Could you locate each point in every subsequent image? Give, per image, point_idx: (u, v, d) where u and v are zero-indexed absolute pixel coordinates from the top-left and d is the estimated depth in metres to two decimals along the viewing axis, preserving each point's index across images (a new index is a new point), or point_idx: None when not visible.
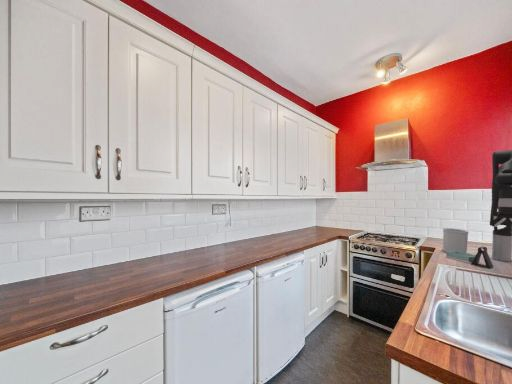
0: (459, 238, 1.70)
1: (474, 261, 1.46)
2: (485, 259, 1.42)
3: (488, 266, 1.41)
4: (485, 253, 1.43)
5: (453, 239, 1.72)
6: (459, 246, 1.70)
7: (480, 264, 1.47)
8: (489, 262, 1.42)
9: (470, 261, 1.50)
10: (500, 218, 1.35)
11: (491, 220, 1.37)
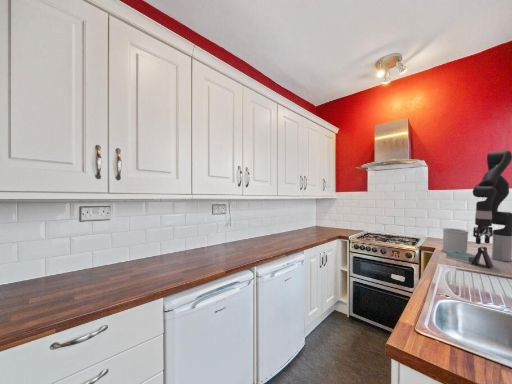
0: (459, 238, 1.70)
1: (474, 261, 1.46)
2: (485, 259, 1.42)
3: (488, 266, 1.41)
4: (485, 253, 1.43)
5: (453, 239, 1.72)
6: (459, 246, 1.70)
7: (480, 264, 1.47)
8: (489, 262, 1.42)
9: (470, 261, 1.50)
10: (482, 229, 1.43)
11: (478, 232, 1.42)
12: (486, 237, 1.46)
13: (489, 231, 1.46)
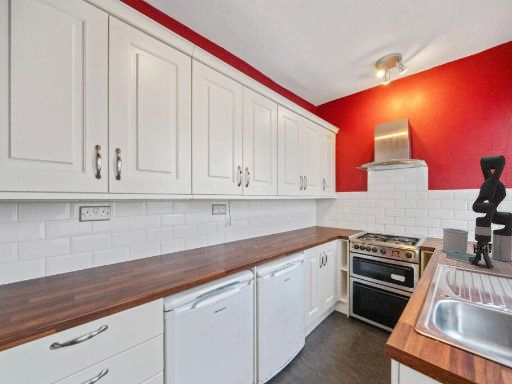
0: (459, 238, 1.70)
1: (474, 261, 1.46)
2: (485, 259, 1.42)
3: (488, 266, 1.41)
4: (485, 253, 1.43)
5: (453, 239, 1.72)
6: (459, 246, 1.70)
7: (480, 264, 1.47)
8: (489, 262, 1.42)
9: (470, 261, 1.50)
10: (481, 246, 1.43)
11: (478, 249, 1.42)
12: None
13: None
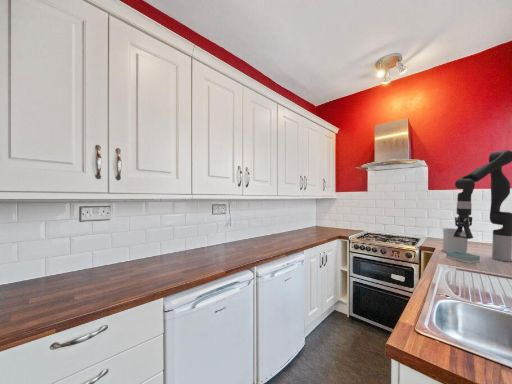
0: (459, 238, 1.70)
1: (456, 233, 1.59)
2: (465, 230, 1.54)
3: (468, 237, 1.53)
4: (466, 225, 1.56)
5: (453, 239, 1.72)
6: (459, 246, 1.70)
7: (461, 236, 1.59)
8: (469, 233, 1.55)
9: (470, 261, 1.50)
10: (462, 219, 1.56)
11: (459, 221, 1.55)
12: None
13: (469, 220, 1.59)
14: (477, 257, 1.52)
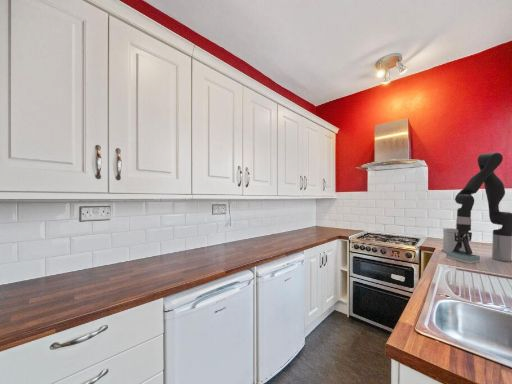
0: None
1: (455, 248, 1.59)
2: (465, 246, 1.54)
3: (468, 252, 1.53)
4: (465, 241, 1.56)
5: (453, 239, 1.72)
6: None
7: (461, 251, 1.59)
8: (469, 249, 1.55)
9: (470, 261, 1.50)
10: (462, 234, 1.56)
11: (459, 237, 1.55)
12: None
13: None
14: (477, 257, 1.52)
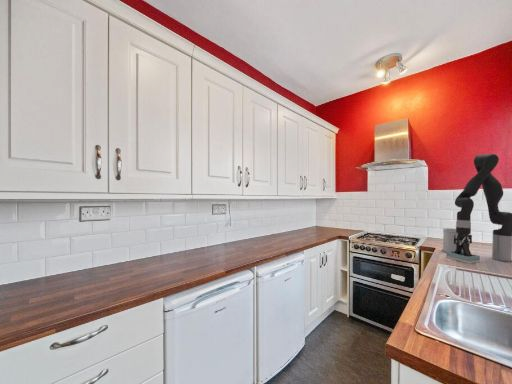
0: None
1: (455, 253, 1.59)
2: (464, 251, 1.55)
3: None
4: (465, 246, 1.56)
5: (453, 239, 1.72)
6: None
7: None
8: (468, 254, 1.55)
9: (470, 261, 1.50)
10: (462, 237, 1.56)
11: (458, 240, 1.55)
12: None
13: (469, 238, 1.59)
14: (477, 257, 1.52)
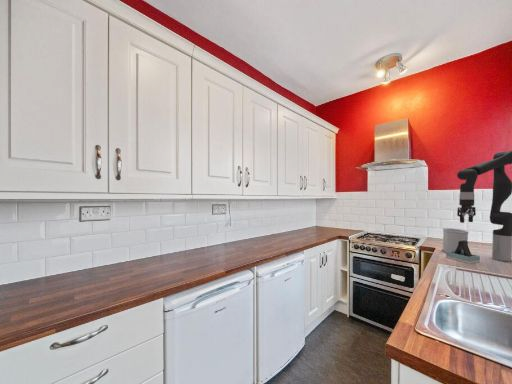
0: (459, 238, 1.70)
1: (455, 253, 1.59)
2: (464, 251, 1.55)
3: None
4: (465, 246, 1.56)
5: (453, 239, 1.72)
6: None
7: None
8: (468, 254, 1.55)
9: (470, 261, 1.50)
10: (465, 209, 1.55)
11: (461, 212, 1.54)
12: (470, 216, 1.58)
13: None
14: (477, 257, 1.52)
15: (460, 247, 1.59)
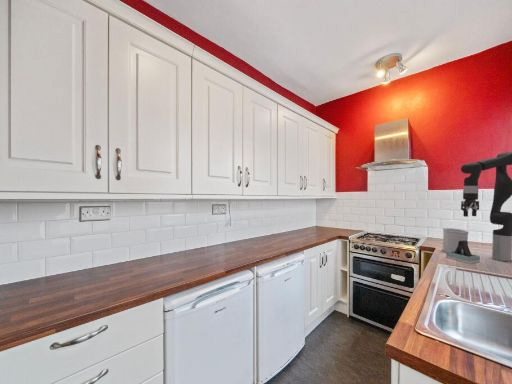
0: (459, 238, 1.70)
1: (455, 253, 1.59)
2: (464, 251, 1.55)
3: None
4: (465, 246, 1.56)
5: (453, 239, 1.72)
6: None
7: None
8: (468, 254, 1.55)
9: (470, 261, 1.50)
10: (469, 203, 1.54)
11: (465, 205, 1.53)
12: (473, 210, 1.57)
13: (476, 205, 1.57)
14: (477, 257, 1.52)
15: (460, 247, 1.59)
